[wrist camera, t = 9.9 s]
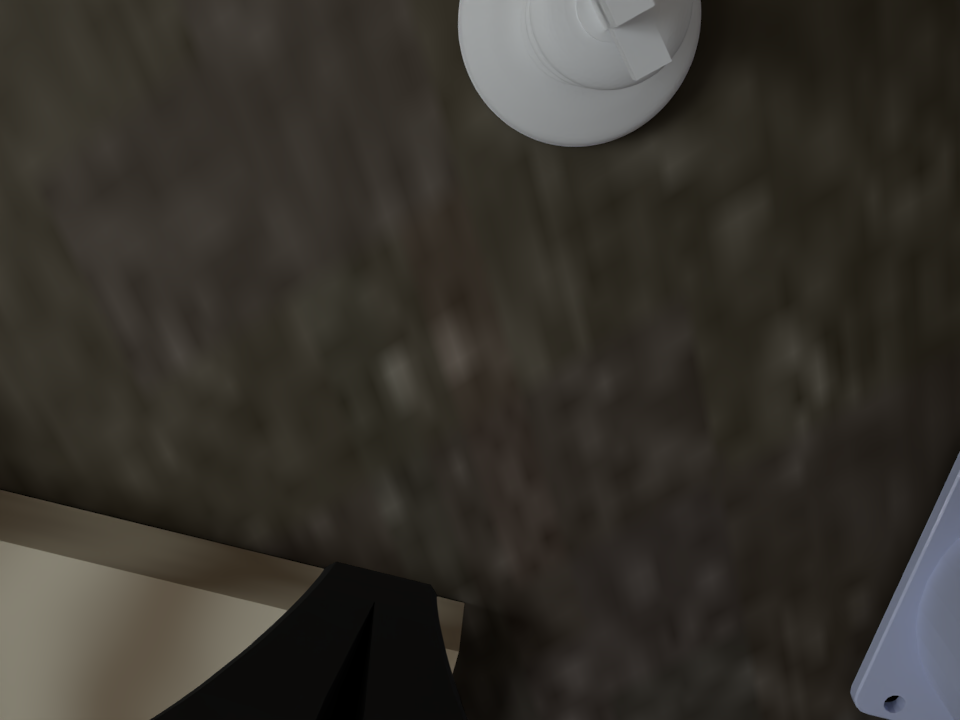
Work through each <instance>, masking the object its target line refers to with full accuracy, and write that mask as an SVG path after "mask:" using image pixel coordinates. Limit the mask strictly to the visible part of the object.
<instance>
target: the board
mask: <svg viewBox="0 0 960 720" xmlns="http://www.w3.org/2000/svg"><path fill="white" fill-rule="evenodd" d="M323 570H324V569H323V568H319V567H315V566H310V565H306V564H302V563H298V562H294V561H290V560H286V559H282V558H278V557H274V556H269V555H265V554H261V553H257V552H253V551H249V550H245V549H241V548H237V547H233V546H228V545H224V544H220V543H216V542H212V541H208V540H204V539H200V538H196V537H192V536H187V535H183V534H179V533H175V532H171V531H167V530H163V529H159V528H155V527H151V526H146V525H142V524H138V523H134V522H130V521H126V520H122V519H118V518H114V517H110V516H105V515H101V514H97V513H93V512H89V511H85V510H81V509H77V508H73V507H68V506H64V505H60V504H56V503H52V502H48V501H44V500H40V499H36V498H32V497H27V496H23V495H19V494H15V493H11V492H7V491H3V490H0V720H150V719H152V718H153V717H155V716H156V715H158V714H159V713H161V712H162V711H164V710H166V709H167V708H168V707H170V706H171V705H173V704H174V703H176V702H177V701H179V700H180V699H182V698H183V697H184V696H186V695H187V694H189V693H190V692H191V691H193V690H194V689H195V688H197V687H198V686H200V685H201V684H202V683H204V682H205V681H206V680H207V679H209V678H210V677H211V676H212V675H214V674H215V673H216V672H217V671H219V670H220V669H221V668H222V667H224V666H225V665H226V664H227V663H229V662H230V661H231V660H233V659H234V658H235V657H236V656H238V655H239V654H240V653H241V652H243V651H244V650H245V649H246V648H247V647H248V646H250V645H251V644H252V643H253V642H254V641H255V640H256V639H257V638H258V637H260V636H261V635H262V634H263V633H264V632H265V631H266V630H267V629H268V628H269V627H270V626H272V625H273V624H274V623H275V622H276V621H277V620H278V619H279V618H280V617H281V616H282V615H283V614H284V613H285V612H286V611H287V610H288V609H289V608H290V607H291V606H292V605H293V604H294V603H295V602H296V601H297V600H298V599H299V598H300V597H301V596H302V595H303V594H304V593H305V592H306V591H307V590H308V589H309V587H310V586H311V585H312V584H313V583H314V582H315V580H316V579H317V578H318V577H319V576H320V574H321V573H322V572H323ZM464 604H465V603H462V602H458V601H454V600H450V599H446V598H442V597H438V596H437V607H438V615H439V621H440V626H441V631H442V636H443V640H444V645H445V649H446V653H447V657H448V661H449V664H450V668H451V671H452V674H453V670H454V667H455V663H456V660H457V656H458V653H459V646H460V638H461V629H462V621H463V612H464Z"/></svg>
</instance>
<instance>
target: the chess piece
mask: <svg viewBox="0 0 960 720" xmlns="http://www.w3.org/2000/svg"><path fill="white" fill-rule="evenodd" d="M700 26H701V0H460V4H459V12H458V33H459V42H460V48H461V53H462V57H463V61H464V64H465V67H466V70H467V72H468V75H469V77H470V79H471V81H472V83H473V85H474V87H475V89H476V90H477V92H478V93H479V95H480V96H481V98H482V99H483V101H484V102H485V103H486V104H487V106H488V107H489V108H490V109H491V110H492V111H493V112H494V113H495V114H496V115H497V116H498V117H499V118H500V119H501V120H502V121H504V122H505V123H506V124H507V125H509V126H510V127H512V128H513V129H515V130H516V131H518V132H520V133H522V134H524V135H526V136H528V137H530V138H532V139H535V140H537V141H541V142H544V143H548V144H552V145H558V146H566V147H583V146H592V145H598V144H602V143H606V142H610V141H613V140H615V139H618V138H620V137H623V136H625V135H627V134H629V133H631V132H633V131H635V130H636V129H638V128H639V127H641V126H642V125H644V124H645V123H647V122H648V121H649V120H650V119H652V118H653V117H654V116H655V115H656V114H657V113H658V112H659V111H660V110H661V109H662V108H663V107H664V106H665V105H666V104H667V103H668V102H669V101H670V99H671V98H672V97H673V96H674V94H675V93H676V91H677V90H678V88H679V87H680V85H681V84H682V82H683V80H684V78H685V77H686V75H687V73H688V71H689V68H690V66H691V63H692V61H693V58H694V55H695V52H696V48H697V44H698V40H699V34H700Z"/></svg>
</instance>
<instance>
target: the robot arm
mask: <svg viewBox="0 0 960 720" xmlns="http://www.w3.org/2000/svg"><path fill="white" fill-rule="evenodd" d="M850 693H851V696H852V699H853V701H854V703H855V705H856V707H857V708H858V709H859V710H860V711H862V712H864V713H866V714H869V715H873V716H877V717H881V718H886V719H890V720H960V452H959V454H958V457H957V459H956V461H955V463H954V465H953V467H952V470H951V472H950V474H949V476H948V478H947V480H946V483H945V485H944V487H943V489H942V491H941V493H940V496H939V498H938V500H937V502H936V504H935V506H934V509H933V511H932V513H931V515H930V517H929V519H928V522H927V524H926V526H925V528H924V530H923V532H922V535H921V537H920V539H919V541H918V543H917V545H916V548H915V550H914V552H913V554H912V556H911V558H910V561H909V563H908V565H907V567H906V569H905V571H904V574H903V576H902V578H901V580H900V582H899V584H898V587H897V589H896V591H895V593H894V595H893V597H892V600H891V602H890V604H889V606H888V608H887V610H886V613H885V615H884V617H883V619H882V621H881V623H880V626H879V628H878V630H877V632H876V634H875V636H874V639H873V641H872V643H871V645H870V647H869V649H868V652H867V654H866V656H865V658H864V660H863V662H862V664H861V667H860V669H859V671H858V673H857V675H856V677H855V680H854V682H853V684H852V687H851V691H850ZM893 695H894V696H899V697H898V698H897V699H896V700H894V701H892V702H885V700H886V699H887V698H888V697H891V696H893ZM150 720H467V717H466V714H465V712H464V709H463V706H462V703H461V700H460V697H459V693H458V690H457V687H456V684H455V681H454V678H453V674H452V671H451V668H450V664H449V661H448V657H447V653H446V649H445V645H444V640H443V636H442V631H441V626H440V621H439V615H438V607H437V594H436V593H435V591H434V589H433V588H432V586H431V585H429V584H425V583H421V582H417V581H413V580H409V579H405V578H401V577H397V576H393V575H388V574H384V573H380V572H376V571H372V570H368V569H364V568H360V567H356V566H352V565H348V564H343V563H339V562H335V563H333V564H331V565H329V566H327V567H325V569H324V570H323V572H322V573H321V574H320V576H319V577H318V578H317V579H316V580H315V582H314V583H313V584H312V585H311V586H310V587H309V589H308V590H307V591H306V592H305V593H304V594H303V595H302V596H301V597H300V598H299V599H298V600H297V601H296V602H295V603H294V604H293V605H292V606H291V607H290V608H289V609H288V610H287V611H286V612H285V613H284V614H283V615H282V616H281V617H280V618H279V619H278V620H277V621H276V622H275V623H274V624H273V625H272V626H270V627H269V628H268V629H267V630H266V631H265V632H264V633H263V634H262V635H261V636H260V637H258V638H257V639H256V640H255V641H254V642H253V643H252V644H251V645H250V646H248V647H247V648H246V649H245V650H244V651H243V652H241V653H240V654H239V655H238V656H236V657H235V658H234V659H233V660H231V661H230V662H229V663H227V664H226V665H225V666H224V667H222V668H221V669H220V670H219V671H217V672H216V673H215V674H214V675H212V676H211V677H210V678H209V679H207V680H206V681H205V682H204V683H202V684H201V685H200V686H198V687H197V688H195V689H194V690H193V691H191V692H190V693H189V694H187V695H186V696H184V697H183V698H182V699H180V700H179V701H177V702H176V703H174V704H173V705H171V706H170V707H168V708H167V709H166V710H164V711H162V712H161V713H159V714H158V715H156V716H155V717H153V718H152V719H150Z"/></svg>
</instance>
